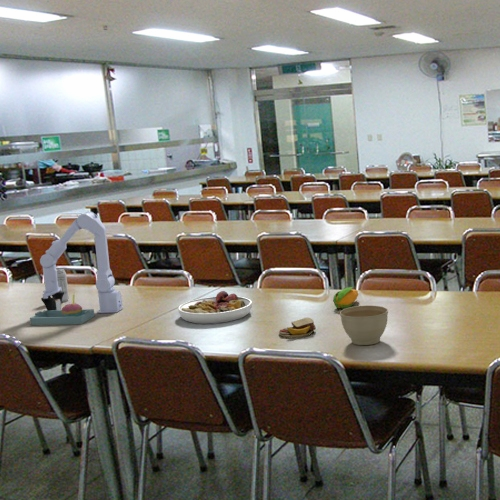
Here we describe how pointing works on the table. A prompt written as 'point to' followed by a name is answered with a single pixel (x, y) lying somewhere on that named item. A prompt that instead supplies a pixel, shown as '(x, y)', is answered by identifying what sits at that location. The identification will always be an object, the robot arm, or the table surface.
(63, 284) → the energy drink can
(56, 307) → the tin
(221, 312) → the bowl
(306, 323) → the toy sandwich meal
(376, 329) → the planter bowl
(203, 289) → the table surface
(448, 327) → the table surface
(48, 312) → the tray
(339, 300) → the corn
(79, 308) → the donut with candle
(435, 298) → the table surface
